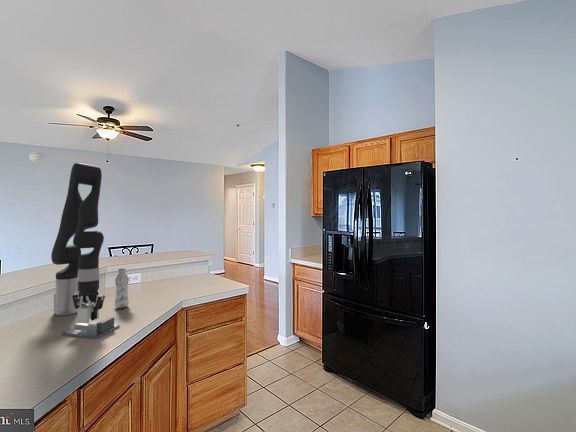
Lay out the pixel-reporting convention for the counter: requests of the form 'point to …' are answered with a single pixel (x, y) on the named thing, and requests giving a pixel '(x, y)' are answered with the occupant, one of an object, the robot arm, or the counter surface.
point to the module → (85, 314)
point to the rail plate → (92, 329)
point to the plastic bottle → (121, 289)
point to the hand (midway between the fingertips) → (88, 319)
